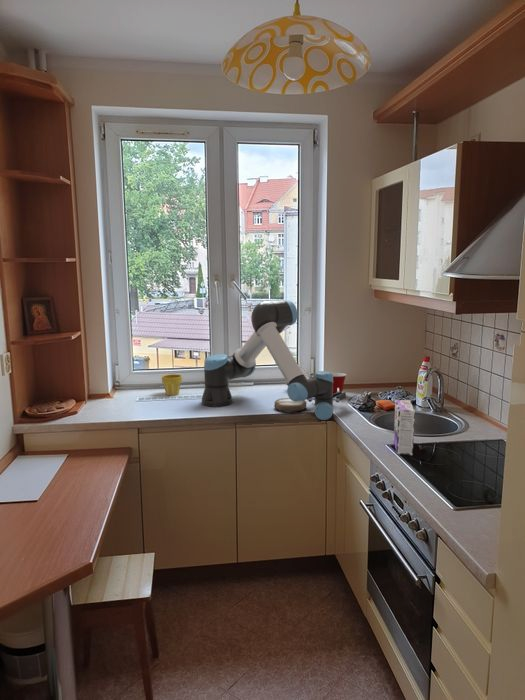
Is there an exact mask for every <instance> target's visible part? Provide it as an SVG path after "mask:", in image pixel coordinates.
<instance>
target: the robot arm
mask: <svg viewBox="0 0 525 700" xmlns="http://www.w3.org/2000/svg"><path fill="white" fill-rule="evenodd" d="M250 317H251V320H250V321H251V326H252V328H253V331H254V332H252V334H251V335H250V336H249V338H248V339H247V340H246V341H245V343H244V344H243V346H242V347H240V348H239V347H238V348H237V349H235V351H234V353H233V354H231V355H229V356H228V355H227V354H224V353H218V354H212V355H209V356H207V357H206V358H205V359H204V365H203V369H204V372H203V373H204V391H203V393H202V396H201V404H202V405H204V406H206V407H214V408H217V407H225V406H229V405H232V404H233V396H232V393H231V390H230V387H229V381H231V380H235V379H240V378H246V377H249V376H251V375H252V374H254V372H255V371H256V365H257V362H256V359H257V358H258V356H259V355H260V354H261V353H262V351H263V350H264V349H265V348H267V350H268V351H269V353H270V355H271V357H272V359H273V360H274V362H275V364H276V365H277V368H278V369H279V370H280V372H281V374H282V375H283V377H284V379H286V381H287V383H288V385H289V386H288V385H287V390H286V392H287V396H288V398H290V399H291V400H292V401H304V400H305V401H306V400H307V401H308V402H309V403H311V402H312V401H314V403H315V405H314V408H313V410H314V414H315V417H316V418H318V419H319V420H322V421H326V420H327V421H328V420H329V419H330V418H332V415H333V413H334V406H333V405H334V403H333V402H334V401H335V402H336V403H340V401H343V400H345V399H346V397H347V395H346V394H347V392H346V391H343V390H342V391H339V388H337V393H334V394H333V374H332V373H333V372H331V371H326V370H322V371H321V370H320V371H316V372H315V373H314V378H311V379H310V378H309V380H307V379H306V377H305V376H306V375H305V374H304V373H303V371H302V369H301V367H300V366H299V364H298V362H297V360H296V359H295V357H294V356H293V353H292V352H291V351H290V349H289V347H288V345H287V344H286V342H285V341H284V338H283V337H282V335H281V333H283V331H284V330H285V328H286V327H288V326H292V325H295V324H296V322H297V320H298V309H297V306H296V305H295V303H294V302H293V301H292V300H288V299H280V300H279V299H277V300H264V301H261V302H259V303H257V304H256V305H254V308H253V310H252V312H251V316H250Z"/></svg>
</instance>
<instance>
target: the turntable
mask: <svg viewBox="0 0 525 700" xmlns="http://www.w3.org/2000/svg"><path fill="white" fill-rule="evenodd" d="M274 408H275V409H277V410H278V409H279V411H280V410H284V411H297V410H301V411H303V410H304V409H306V408H307V401H306V400H304V401H292V400H291V399H290V398H289V397H285V398H284V397H283V398H278V399H276V400H275V401H274ZM302 409H303V410H302ZM284 411H283V412H284Z"/></svg>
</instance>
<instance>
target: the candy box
mask: <svg viewBox="0 0 525 700" xmlns="http://www.w3.org/2000/svg"><path fill="white" fill-rule="evenodd" d="M415 417H416V410H415V408H414V406H413V404H412V400H407V399H405V400H404V399H396V400H394V428H393V429H394V431H393V443H394V447H395V448H394V449H395V452H396V455H404V456H405V455H406V456H413V455H414V439H415V438H414V436H415Z"/></svg>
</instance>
